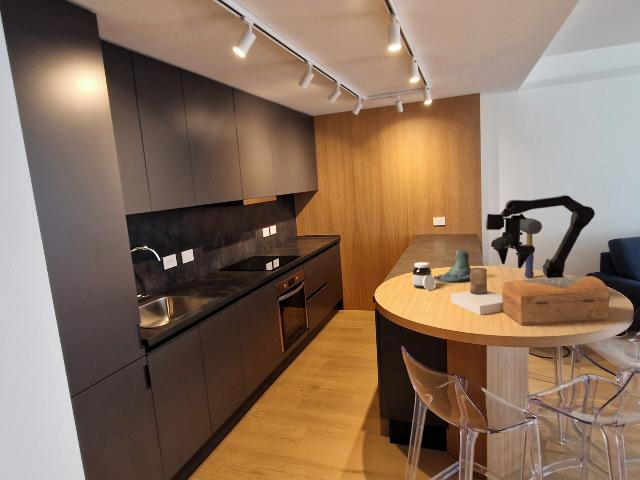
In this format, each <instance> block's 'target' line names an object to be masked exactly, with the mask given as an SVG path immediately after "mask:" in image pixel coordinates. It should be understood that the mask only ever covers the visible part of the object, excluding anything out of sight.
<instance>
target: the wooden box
mask: <svg viewBox="0 0 640 480" xmlns="http://www.w3.org/2000/svg"><path fill="white" fill-rule="evenodd" d="M501 295H502V301H503V311H502V312H503V313H504V314H505V315H506V316H507V317H509V318H510V319H512V320H513V321H514V322H516V323H517V324H519V326H537V325H538V326H539V325H555V324H570V323H584V322H585V323H586V322H590V321H591V322H604V321H603V320H606V321H608V318H609V309H610V307H609V305H610V299H611V292H610V291H609V289H608V287H607V285H606V284H605V283H604V282H603V280H601V279H600V278H598V277H596V276H592V275H588V276H587V275H586V276H582V275H581V276H566V277H565V276H564V277H560V278H547V277H546V278H531V279H522V280H511V281H509V280H508V281H506V282H504V283H503V285H502V293H501ZM591 322H590V323H591Z"/></svg>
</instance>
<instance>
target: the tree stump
mask: <svg viewBox="0 0 640 480" xmlns="http://www.w3.org/2000/svg"><path fill="white" fill-rule="evenodd" d="M470 269H471V267H470V259H469V252H468V251H466V250H462V249H458V248H457V249H456V250H455V257H454V262H453V265H451V266H450V268H449V269H448V271H447V272H445V273H444V274H439V275H436V276H435V275H434V276H433V278H434V279H435V281H436V282H441V283H445V284H447V283H448V284H454V283H455V284H456V283H465V282H468V281H470Z"/></svg>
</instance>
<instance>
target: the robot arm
mask: <svg viewBox="0 0 640 480" xmlns="http://www.w3.org/2000/svg"><path fill="white" fill-rule="evenodd" d="M561 206H562V207H564V208H566V209H567V210H568V211H569V212H570V213H571V216H570V222H569V223H570V224H569V227H568V229H567V230H566V232H565V235H564V236H563V238H562V239H561V240H562V241H560V242H561V243H560V244H559V246H558V248H557V250H556V252H555V254H554V255H553V257H552V258H551V259H548V258H546V259H545V263H544V264H543V265H542V273H543V275H544V276H545V277H546V278H560V277H565V275H563V274H564V271H565V268H566V267H565V265H566V264H565V263H566V260H567V259H568V257H569V255H570V254H571V251H572V249H574V248H573V247H574V246H575V244H576V242H577V240H578V238H579V236H580V234H581V233H582V231H583V230H584V229H585V227H587V225H589V224H590V222H591V221H592V220H593V218H594V217H595V215H596V212H595V210H594V209H593V208H592V207H591V206H587V205H584V204H582V203H580V202H578V201H577V200H575V199H573V198H572V197H571V196H569V195H567V194H562V195H558V196H552V197H551V196H550V197H543V198H538V199H537V198H536V199H530V200H529V199H510V200H508V201H507V202H506V204H505V206H504V207H505V208H504V209H503V210H502V211H501V212H500V213H499V214H496V213H495V214H494V213H487V214H486V215H487V216H486V221H485V228H486V230H488V231H493V230H494V231H501V230H502V229H503V228H504V231H503V232H502V233H501V236H499V237H497V238H495V239H493V240H492V242H491V244H490V245H491V248H493V250H495V251H496V252H497V253H498V256H499V259H500V262H501V265H505V263H506V260H507V257H508V253H509V249H512V250H515V251H516V252H515V255H516V256H517V268H518V270H519V269H522V268H523V266H524V264H525V263H526V262H525V261H526V259H527V258H528V256H529V255H530V254H532V253H533V254H534V253H535V251H536V247H535V246H534V245H533V244H532V245H527V243H526V244H523V242H522V241H521V236H523V235H524V234H523V233H524V232H523V231H521V230H520V227H521V219H526V218H527V217H525V215H524V214H523V213H525V212H526V213H527V212H528V211H531V210H536V209H537V210H538V209H545V208H554V207H561ZM510 216H511V217H510Z"/></svg>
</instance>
